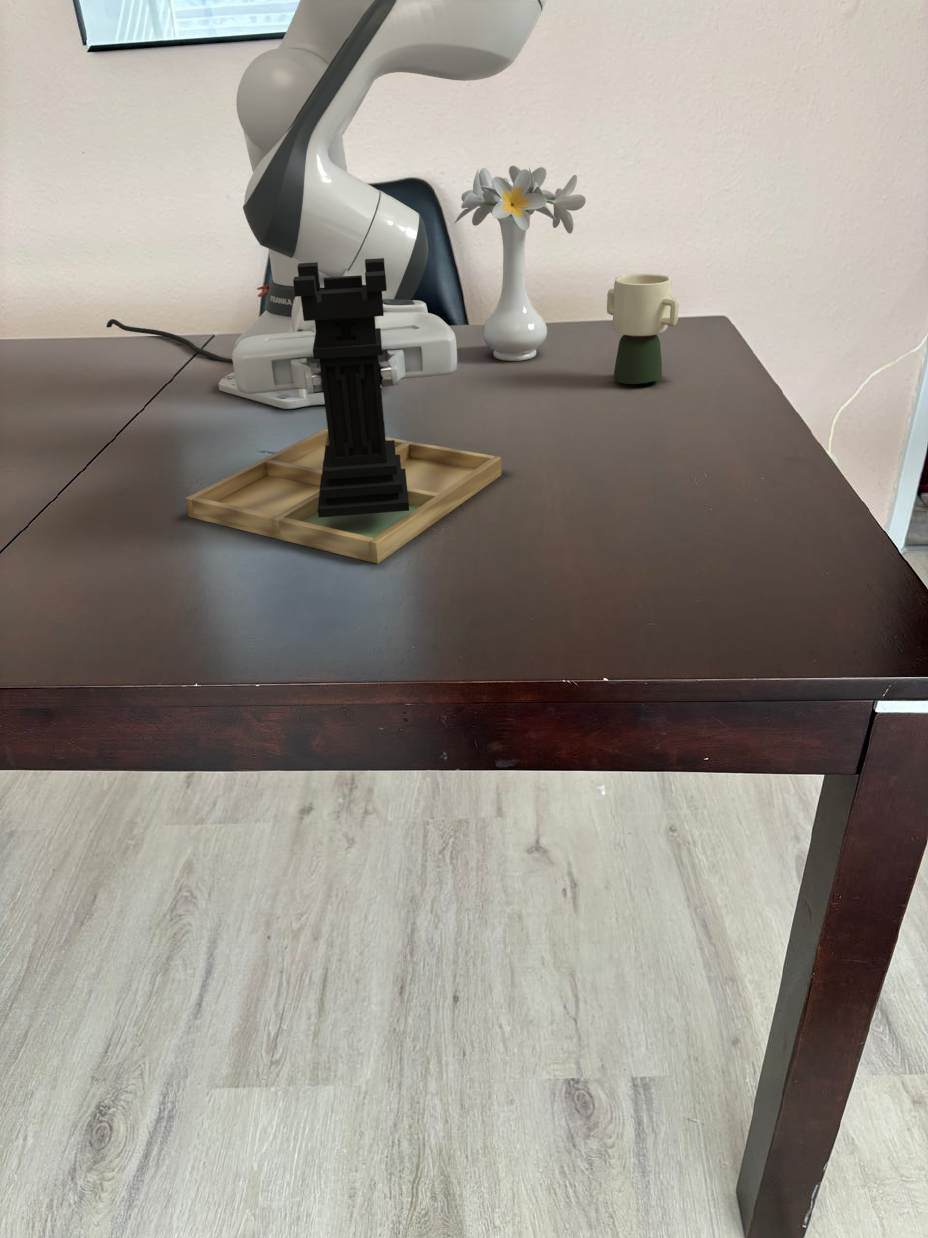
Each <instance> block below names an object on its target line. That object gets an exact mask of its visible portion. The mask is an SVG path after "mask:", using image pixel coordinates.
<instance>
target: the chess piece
mask: <svg viewBox="0 0 928 1238" xmlns="http://www.w3.org/2000/svg"><path fill="white" fill-rule="evenodd" d="M297 268H298V277H294V280H293V284H294V292H295V297H299V296H301V303H302V310H303V318H304V321H313V320H315V328H316V334H315V340H314V346H313V355H314V359H319V361H320V369H321V377H322V385H323V394H324V402H325V404H324V410H325V418H326V427H328V435H329V443H330V445H325V454H324V460H323V468H322V475H321V482H320V492H319V502H318V515H319V518H320V517H333V516H346V515H359V514H372V513H385V512H398V511H409V501H408V491H407V481H406V471H405V469H401V461H400V455H396V453H395V441H394V440H389V441H386V438H385V437H386V427H385V418H384V417H385V416H384V406H383V395H382V388H381V384H380V372H379V360H378V355H382V343H381V330H380V328H376V326H375V316H384V311H383V299H382V291H387V287H386V275H385V265H384V258H378V259H365V268H366V272H365V281H366V285H362V275H359V276H343V277H327V278H324V288H320V282H319V270H318V262H314V263H299V264H298V267H297Z"/></svg>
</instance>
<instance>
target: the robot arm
mask: <svg viewBox="0 0 928 1238" xmlns="http://www.w3.org/2000/svg"><path fill="white" fill-rule="evenodd" d="M547 2H548V0H299V2H298V4H297V7H296V9H295V11H294V14H293V16H292V19H291V22H290V23H289V25H288V27H287V30H286V32H285V34H284V36H283V38H282V40H281V42H280V44H279V46H278V47H277V48H273V49H269V50H266V51H264V52H262V53H261V54H259V55H258V56H256V57H255V58H253V60H252V61H251V62H249V64H248V66H247V67H246V69H245V70H244V72H243V74H242V76H241V78H240V81H239V83H238V86H237V91H236V92H237V93H236V101H235V102H236V114H237V118H238V120H239V123H240V126H241V128H242V131H243V136H244V141H245V146H246V149H247V153H248V159H249V162H250V167H251V172H252V174H251V176H250V178H249V180H248V183H247V186H246V189H245V194H244V200H243V204H242V205H243V206H242V210H243V213H244V217H245V219H246V221H247V224H248V226H249V228H250V230H251V233H252V234H253V236H254V238H255V240H256V241H257V242H258V244H259V246H261V247H263V248H266V249H268V254H269V261H270V268H271V275H272V276H271V277H272V280H270V282H268V284H266V285H263V286H262V285H261V286H259V287H257V288H256V290H257V291H259V290H261V292H260V293H258V294H257V297H258V298H261V297H265V296H266V301H265V306H264V307H265V308H264V309H265V311H264V312H263V313H261V314H260V316H259V317H258V318H257V319H256V320H255V321H254V322H253V323H252V324H251V325H250V326H248V328H247V329H246V330H244V332H243V333H242V334H241V335H240V336H239V337H237V339H236V340H235V343H234V346H233V351H232V354H231V358H226V357H223V356H219V355H217V354H215V353H212V352H210V351H207V350H205V349H202V348H200V347H198V346H196V345H195V344H194V343H193V342H191V341H190V340H188V339H186V338H184V337H182V336H180V335H177V334H174V333H171V332H167V331H163V330H158V329H153V328H145V327H144V328H143V327H135V326H129V325H126V324H123V323H121V322H120V321H119V320H117V319H115V318H111V319H109V320H108V321H107V323H106V328H112V326H113V325H115V326H116V327H117V328H119V329H121V330H123V331H126V332H131V333H137V334H146V335H154V336H160V337H164V338H168V339H171V340H174V341H177V342H179V343H181V344H183V345H185V346H187V347H188V348H190V349H191V350H192V351H193V352H195V353H196V354H198V355H201V356H203V357H206V358H208V359H211V360H213V361H217V362H222V363H228V364H232V366H233V372H231V373H229V374H226V376H223V377H222V378H221V379H220V380H219V382H218V391H220V392H224V393H227V394H230V395H234V396H237V397H241V398H244V399H248V400H251V401H255V402H258V403H262V404H265V405H268V406H272V407H276V408H279V409H283V410H292V409H298V408H304V407H309V406H320V405H325V402H324V394H323V385H322V377H321V369H320V361H319V359H314V355H313V346H314V340H315V334H316V328H315V320H313V321H304V318H303V310H302V303H301V296H299V297H295V292H294V284H293V280H294V277H298V268H297V267H298V264H299V263H314V262H318V270H319V282H320V288H324V278H327V277H343V276H359V275H362V285H366V281H365V272H366V268H365V259H378V258H384V265H385V275H386V287H387V291H382V299H383V311H384V316H375V326H376V328H380V330H381V343H382V355H378V360H379V372H380V384H381V389H382V388H387V387H395V386H396V387H397V386H399V381H400V380H409V379H410V380H411V379H418V378H427V377H428V378H430V377H440V376H449V375H452V374H454V373H455V372H456V371H457V369H458V348H457V346H458V345H457V337H456V334H455V332H454V331H453V329H452V328H451V327H450V326H449V324H448V323H446V322H445V321H444V320H443V318H441V317H440V316H438V315H436V314H433V313H431V312H428V307H427V303H426V302H424V301H423V300H417V299H416V300H415V299H413V300H412V298H414V296H415V294H416V292H417V290H418V288H419V286H420V283H421V282H422V279H423V276H424V274H425V271H426V267H427V263H428V258H429V242H428V236H427V230H426V226H425V222H424V220H423V218H422V216H421V214H420V213H419V212H417V211H415V209H412V208H411V207H410V206H407V205H406V204H404V203H403V202H401V201H399V200H398V199H396V198H395V197H393V196H391V195H389V194H387V193H385V192H384V191H382V190H380V189H377V188H376V187H374V186H372V185H370V184H369V183H367V182H365V181H363V180H362V179H360V178H358V177H357V176H355V175H353V174H351V173H350V172H348V171H349V170H348V167H347V159H346V153H345V146H344V139H343V138H344V137H343V136H344V135H345V133H346V131H347V129H348V127H349V126H350V125H351V122H352V121H353V118H354V117H355V116H356V115H357V112H358V110H359V109H360V107H361V105H362V103H363V102H364V99H365V98H366V96H367V94H368V93H369V91H370V89H371V87H372V85H373V84H374V82H375V81H376V80H377V79H379V78H380V77H383V76H384V75H385V76H386V75H388V74H392V73H394V74H395V73H405V74H414V75H415V74H416V75H422V76H428V77H433V78H437V79H442V80H450V81H463V82H464V81H465V82H466V81H479V80H484V79H488V78H491V77H494V76H496V75H498V74H500V73H502V72H503V71H505V70H507V69H508V68H509V67H510V66H512V65H513V64H514V63H515V62H516V60H517V58H518V56H519V55H520V54H521V52H522V51H523V49H524V48H525V45H526V44H527V43H528V41H529V39H530V37H531V35H532V33H533V31H534V29H535V27H536V25H537V23H538V21H539V18H540V16H541V14H542V12H543V11H544V8H545V7H546V3H547ZM262 290H263V291H262Z"/></svg>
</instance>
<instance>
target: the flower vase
mask: <svg viewBox="0 0 928 1238" xmlns="http://www.w3.org/2000/svg"><path fill="white" fill-rule="evenodd" d="M508 174H509V177H510V180H511V182H512V184H510V181H509V178H507V177H502V176H498V175H497V176H494V177H493V178H492V175H491V172H490V171H489V169H488V168H486V167H482V168H481V169H480V170H479V169H477V170H476V173H475V175H474V178H473V184H472V189H470V190H466V191H464V192H463V193H462V194H461V196H460V197H461V198H460V199H461V201H462V204H461V209H463V210H462V211H461V212H460V213H459V215H458V216H457V218H456V220H455V221H454V223H453V224H456V223H458V221H460V220H461V219H462V218H463V217H465V216H467V214H469V213H471V212H472V211H473V210H475V211H474V212H473V215H472V218H471V223H472V225H473V226H475V227H477V226H478V225H481V223H483V221H484V220H485V219H486V218H487V216H488V215H489V214H491V215H492V217H493V219H496V220H497V221H498V223H499V226H500V227H499V228H500V232H501V240H502V253H503V255H502V259H503V260H502V285H501V292H500V296H499V298H498V302H497V304H496V307H495V309H494V310H493V311H492V313H490V314H489V316H488V317H487V318H486V320H485V321H484V323H483V326H482V330H481V336H482V339H483V341H484V343H485V344H486V345H487V347H489V348H490V349H491V350H493V353H492V354H493V357H494V358H496V359H497V360H501V361H508V362H517V361H518V362H520V361H527V360H530V359H533V358H535V357H536V355H537V349H538V348H539V347H541V346H542V345H543V344H544V342H545V341H546V338H547V336H548V327H547V324H546V322H545V320H544V318H543V316H542V315H541V313H539V312H538V311H537V309H535V307H534V306H533V304H532V302H531V299H530V297H529V293H528V288H527V276H526V253H525V251H526V237H527V230H529V228H530V225H531V216H532V215H533V214H534V213H535V211H536V212H538V213H540V214H543V215H545V216H547V217H548V218H550V219H551V220H552V222H551V223H552V228H553V229H557V228H558V227H559V225H560V223H562V225H563V227H564V229H565V232H567V234H569V235H571V234H572V233H573V231H574V218H573V215H572V214H571V212H572V211H573V212H575V211H578V210H581V209H582V208H583V207H584V206H585V205H586V203H587V199H586V197H585V196H584V195H582V194H573V192H574V191H575V189H576V187H577V184H578V175H577V174H574V175H572V176H571V177H570V178H569V180H568V181H567V183H566V184H565V186H564V187H563V188H557V189H556V190H555V192H552V191H550V190H548V189H541V187H542V185H543V184H544V182H545V180H546V178H547V169H546V168H545V167H543V166H542V167H541V166H540V167H537V168H535V170H533V171H532V170H531V168H530V167H529V168H528V169H527V168H524V169H521V168H519V167H518V166H516V165H510V166H509V168H508ZM547 204H550V205H552V206H553V212H552V210H551V209H550V208H549V206H548V205H547Z"/></svg>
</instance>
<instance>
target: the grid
mask: <svg viewBox="0 0 928 1238" xmlns="http://www.w3.org/2000/svg"><path fill="white" fill-rule="evenodd" d="M385 438H386V441H389V440H394V441H395V453H396V455H400V461H401V469H405V471H406V481H407V491H408V501H409V511H398V512H385V513H372V514H359V515H346V516H333V517H320V518H319V515H318V502H319V492H320V482H321V475H322V468H323V460H324V454H325V445H330V443H329V435H328V427H327V426H326V427H324V428H322V429H320V430H319V431H316V432H315V433H313V434H311V435H308V436H307V437H306V436H305V438H302V439H301V440H298V441H296V442H294V443H291V445H288V446H286V447H285V448H283V449H280V450H278V451H276V452H274V453H271V454H270V455H268V456H266V457H265V458H263V459H260V460H259V461H257V462H255V463H252V464H250V465H248V466H246V467H245V468H242V469H241V470H239V471H236V472H234V473H232V474H229V476H227V477H225V478H222V479H221V480H219V481H216V482H215V483H213V484H211V485H208V486H206V487H204V488H202V489H200V490H198V491H197V492H194V493H193V494H190V495H188V496H186V497H185V498H184V500H185V501H184V502H185V507H186V511H187V517H188V518H192V519H194V520H200V521H203V522H206V523H207V522H208V523H211V524H214V525H215V524H216V525H219V526H224V527H228V528H232V529H236V530H239V531H244V532H248V533H252V534H256V535H260V536H265V537H268V538H272V539H277V540H280V541H285V542H289V543H292V544H296V545H300V546H305V547H309V548H312V549H316V550H321V551H324V552H329V553H332V554H337V555H340V556H345V557H349V558H353V559H357V560H360V561H361V560H362V561H365V562H370V563H373V564H380V563H381V562H383V561H384V560H385V559H386V558H388V557H390V556H391V555H392V554H394V553H395V552H397V551H398V550H399V549H401V548H402V547H403V546H405V545H406V544H407V543H409V542H410V541H412V540H413V539H415V538H416V537H417V536H419V535H420V534H421V533H423V532H424V531H426V530H427V529H428V528H431V526H433V525H434V524H436V523H437V522H438V521H440V520H441V519H442V518H444V517H445V516H447V515H449V514H450V512H452V511H454V510H455V509H456V508H458V507H459V506H460V505H462V504H463V503H465V502H466V501H467V500H469V499H470V498H472V497H473V496H474V495H476V494H477V493H478V492H480V491H481V490H483V489H484V488H486V487H487V486H488V485H490V484H491V483H493V482H494V481H495V480H497V479H498V478H500V477H501V476H502V457H501V456H496V455H493V454H492V455H491V454H486V453H480V452H474V451H468V450H463V449H458V448H452V447H447V446H440V445H434V444H428V443H422V442H417V441H410V440H405V439H399V438H393V437H389V436H385Z"/></svg>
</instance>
